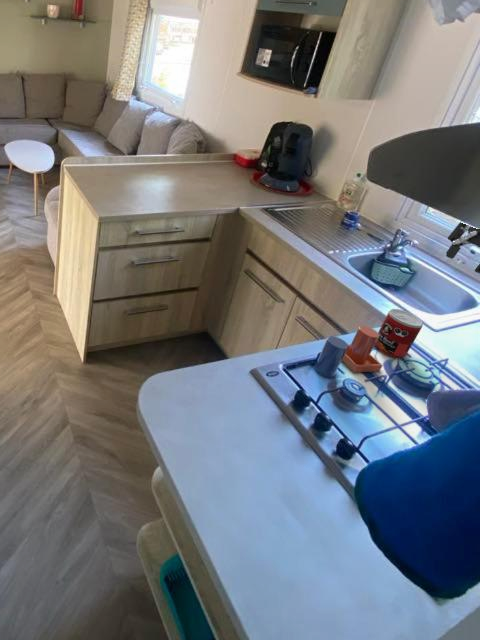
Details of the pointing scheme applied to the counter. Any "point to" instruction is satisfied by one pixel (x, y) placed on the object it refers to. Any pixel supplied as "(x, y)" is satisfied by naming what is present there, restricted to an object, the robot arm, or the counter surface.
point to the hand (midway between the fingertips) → (463, 264)
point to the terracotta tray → (369, 366)
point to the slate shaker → (331, 356)
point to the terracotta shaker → (362, 345)
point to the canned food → (398, 333)
